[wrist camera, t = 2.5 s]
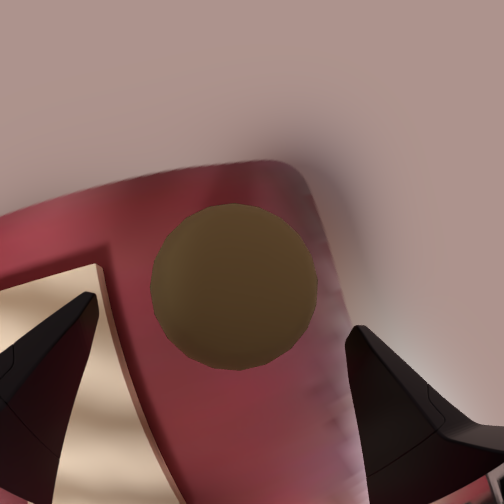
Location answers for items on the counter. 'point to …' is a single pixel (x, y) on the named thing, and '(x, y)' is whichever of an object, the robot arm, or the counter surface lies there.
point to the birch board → (94, 402)
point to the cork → (233, 286)
